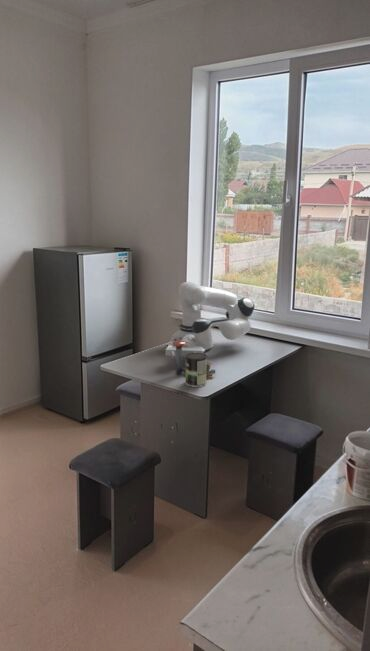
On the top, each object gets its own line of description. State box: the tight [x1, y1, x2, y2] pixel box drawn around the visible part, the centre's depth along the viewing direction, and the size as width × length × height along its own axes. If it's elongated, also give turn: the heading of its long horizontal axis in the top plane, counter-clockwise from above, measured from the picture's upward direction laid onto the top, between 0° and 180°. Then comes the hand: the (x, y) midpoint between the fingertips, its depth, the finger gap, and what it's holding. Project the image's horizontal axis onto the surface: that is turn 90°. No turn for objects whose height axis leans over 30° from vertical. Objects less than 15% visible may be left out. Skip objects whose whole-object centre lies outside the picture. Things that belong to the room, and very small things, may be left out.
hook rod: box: [173, 341, 216, 376], centre depth 251 cm, size 22×6×17 cm, turn 82°
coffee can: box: [184, 353, 208, 388], centre depth 241 cm, size 10×10×14 cm
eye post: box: [206, 360, 213, 380], centre depth 252 cm, size 7×8×7 cm
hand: (182, 356), depth 256 cm, fingers open, 8 cm apart
